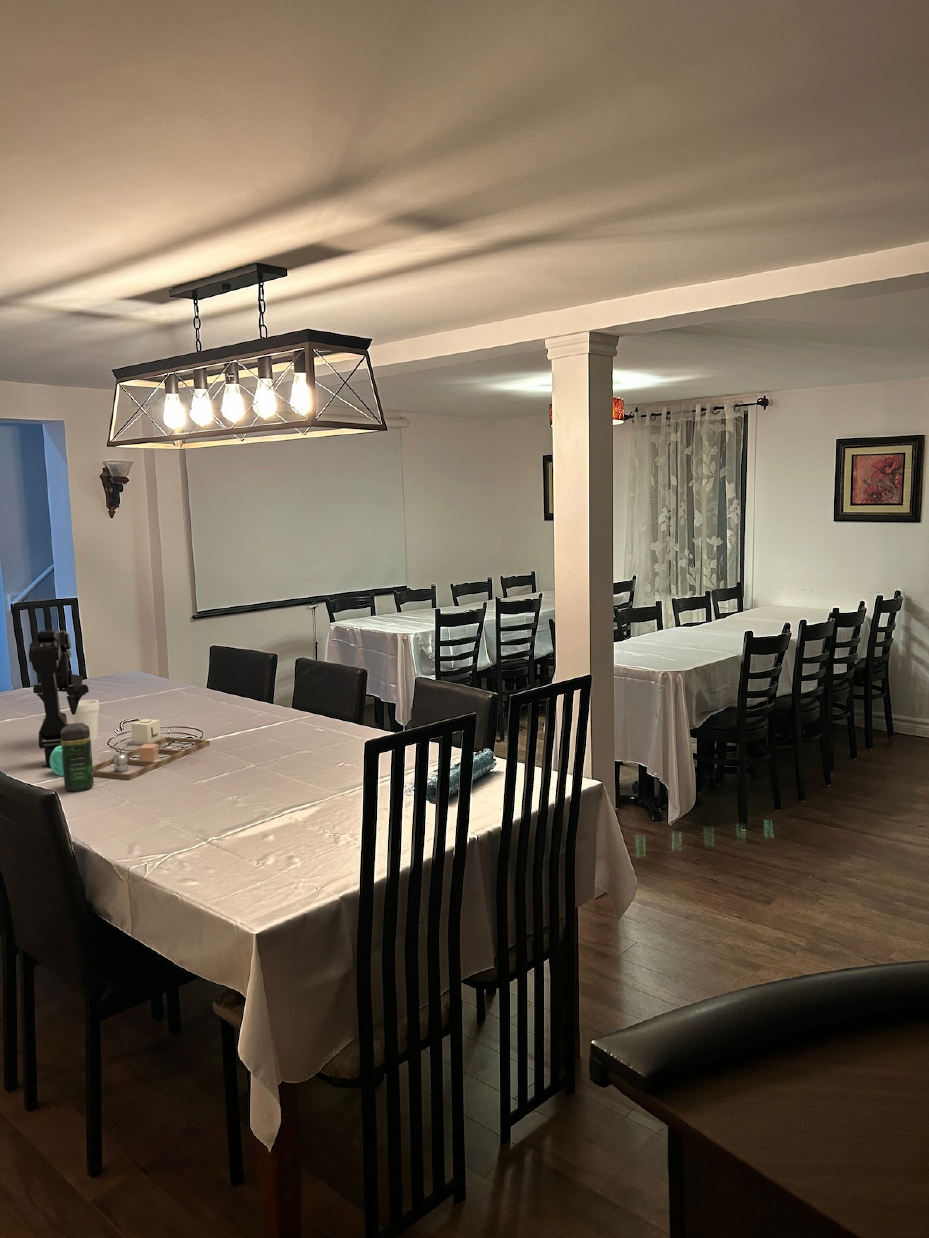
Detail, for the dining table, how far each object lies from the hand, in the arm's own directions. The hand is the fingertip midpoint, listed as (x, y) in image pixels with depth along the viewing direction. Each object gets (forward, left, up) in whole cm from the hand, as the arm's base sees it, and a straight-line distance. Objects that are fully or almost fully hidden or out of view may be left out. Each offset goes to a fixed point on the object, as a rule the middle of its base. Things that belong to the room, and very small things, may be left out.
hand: (63, 713), depth 303 cm
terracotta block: (-3, -37, -12) cm, 39 cm away
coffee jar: (-32, -36, -12) cm, 50 cm away
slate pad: (+14, -22, -12) cm, 29 cm away
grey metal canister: (-16, -37, -12) cm, 42 cm away
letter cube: (+14, -22, -11) cm, 28 cm away
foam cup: (+12, +2, -12) cm, 17 cm away
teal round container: (-21, -22, -12) cm, 33 cm away
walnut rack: (-3, -37, -12) cm, 39 cm away
